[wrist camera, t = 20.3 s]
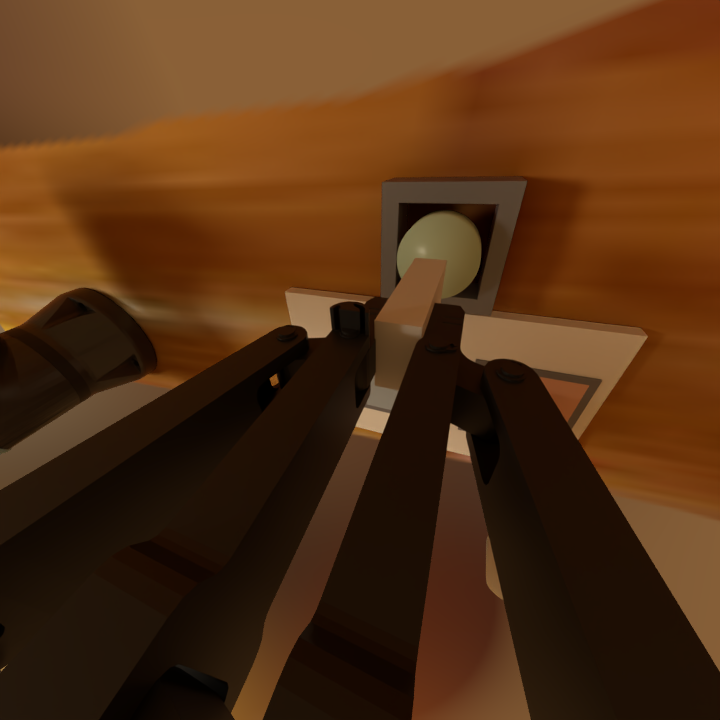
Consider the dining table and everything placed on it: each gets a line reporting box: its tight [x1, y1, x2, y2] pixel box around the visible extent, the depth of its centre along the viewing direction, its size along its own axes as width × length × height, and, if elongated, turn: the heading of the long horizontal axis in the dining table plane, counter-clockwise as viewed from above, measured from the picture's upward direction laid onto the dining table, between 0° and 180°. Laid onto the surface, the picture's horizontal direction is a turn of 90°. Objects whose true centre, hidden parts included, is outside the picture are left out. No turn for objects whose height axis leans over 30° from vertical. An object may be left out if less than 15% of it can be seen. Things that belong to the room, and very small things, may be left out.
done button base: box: [381, 176, 527, 316], centre depth 20 cm, size 8×8×3 cm
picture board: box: [285, 287, 648, 456], centre depth 28 cm, size 28×17×1 cm, turn 92°
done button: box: [397, 210, 481, 299], centre depth 18 cm, size 5×5×2 cm
